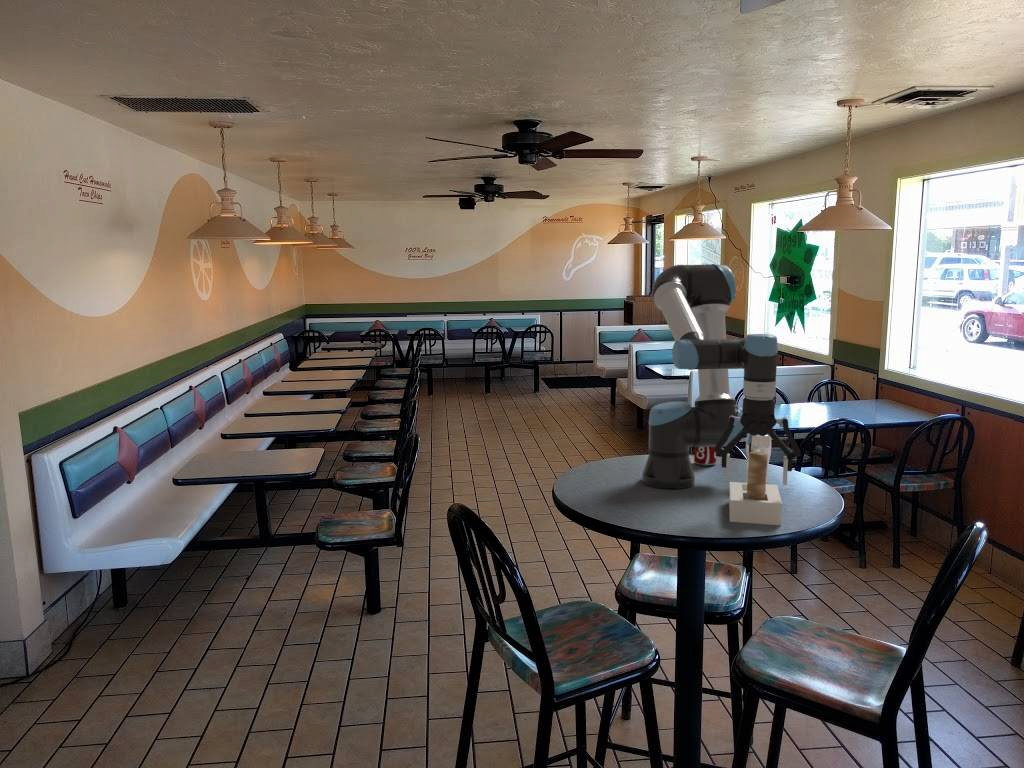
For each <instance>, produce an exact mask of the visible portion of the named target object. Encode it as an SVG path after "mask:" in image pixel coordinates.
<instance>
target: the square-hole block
mask: <svg viewBox="0 0 1024 768" xmlns="http://www.w3.org/2000/svg"><path fill="white" fill-rule="evenodd" d="M746 495H747V483H746V482H738V481H736V482H735V481H729V493H728V496H729V497H728V509H729V511H728V512H729V522H730V523H743V524H757V525H767V526H768V525H771V526H782V515H783V514H782V513H783V502H782V498H781V494H780V490H779V487H778V484H769V483H768V484H766V490H765V501H764V500H748V499H746Z"/></svg>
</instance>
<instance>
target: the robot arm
mask: <svg viewBox="0 0 1024 768" xmlns="http://www.w3.org/2000/svg"><path fill="white" fill-rule="evenodd" d="M736 284H737V283H736V279H735V275H734V273H733V271H732V270H731V269H730V267H729V266H727V265H724V264H715V263H712V264H711V263H710V264H676V265H672V266H670V267H668V268H665V269H664V270H663V271H662V272H660V273H659V274H658V276H656V278H655V280H654V282H653V285H652V288H651V297H652V300H653V303H654V304H655V306H656V308H657V309H658V310H660V311H661V312H662V314H663V317H664V319H665V322H666V323H667V325H668V328H669V330H670V333H671V335H672V337H673V339H674V343H673V346H672V353H671V356H672V361H673V366H674V367H675V368H677V369H678V370H689V371H694V370H697V372H698V373H697V376H698V390H699V391H698V393H699V395H698V397H697V398H696V399H694V406H692V405H691V403H690V402H689V401H668V402H663V403H658V404H656V405H654V406H652V407H651V408H650V410H649V415H648V417H649V418H648V457H647V458H646V459H647V460H646V462H645V465H644V468H643V471H642V472H641V473H642V475H641V476H642V478H641V482H642V481H643V482H644V483H646V484H648V485H647V486H649V485H651V486H650V487H652V486H654V487H653V488H657V487H660V488H659V489H664V488H674V489H673V490H675V489H676V490H677V489H680V488H681V489H687V488H690V487H692V486H694V485H695V484H696V478H695V477H696V476H695V473H694V472H695V471H694V468H693V466H692V462H691V459H690V448H695V447H715V452H716V454H717V453H718V454H720V455H721V464H720V465H721V468H725V482H729V483H730V464H731V462H730V461H731V460H730V459H731V456H730V455H731V454H730V453H729V452H730V451H732V449H733V448H735V446H736V445H738V443H739V442H741V440H742V439H743V438H745V437H747V434H748V433H749V434H750V435H760V436H764V435H767V434H769V436H770V437H771V440H772V441H774V443H775V444H776V445H777V446H778V447H779V448H780V450H781V451H782V452H783V454H784V455H785V456H783V466H782V467H783V468H782V470H783V471H782V485H783V486H788V472H792V471H793V463H794V462H793V460H794V458H797V457H798V458H800V457H801V456H802V454H801V453H802V452H801V450H800V448H799V447H798V444H797V443H796V441H795V438H794V436H793V434H792V432H791V430H790V427H789V420H788V418H787V417H786V416H784V417H782V418H776V417H775V414H776V413H775V412H776V400H775V397H776V387H777V386H776V385H777V365H778V362H777V361H778V352H779V349H778V338H777V336H776V335H774V334H769V333H768V334H767V333H749V334H747V335H746V337H738V338H737V337H736V338H734V339H732V338H731V339H727V331H726V330H727V328H726V313H727V312H728V311H729V310H730V308H731V305H730V304H733V303H734V301H735V299H736V293H737V285H736ZM733 369H734V370H738V369H742V370H743V388H742V390H743V391H742V395H743V396H744V398H743V399H742V407H741V406H739V405H737V404H736V399H735V397H733V396H732V395H731V393H730V380H729V379H730V378H729V370H733ZM776 424H778V425H779V427H780V428H782V429H783V432H784V433H785V436H786V437H787V439H788V442H789V444H790V446H791V449H793V451H791V450H790V449H789V448H788V446H787V445H786V444H785V443H784V441H783V440H782V439H781V438H780V437H779V436H778V434H776V432H775V431H774V429H773V428H775V426H776ZM643 482H642V483H643ZM644 483H643V484H644ZM646 484H645V485H646ZM681 489H680V490H681Z"/></svg>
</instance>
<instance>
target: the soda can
mask: <svg viewBox="0 0 1024 768" xmlns="http://www.w3.org/2000/svg"><path fill="white" fill-rule="evenodd" d="M693 458H694V459H693V460H694V461H693V462H694V463H695V464H697V465H698V466H700V465H701V467H710V466H709V465H712V466H713V465H715V464H717V453H716V452H715V447H694V456H693Z"/></svg>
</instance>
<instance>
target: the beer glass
mask: <svg viewBox="0 0 1024 768" xmlns="http://www.w3.org/2000/svg"><path fill="white" fill-rule="evenodd" d="M753 451H758V452H764V453H767V454H768V461H767V470H768V467H769V464H770V459H771V454H772V438H771V437H770V436H769V434H767V435H764V436H760V435H750V434H749V433H748V434H747V435H746V440H745V457H746V465H747V466H748V464H749V452H753ZM747 480H748V475H746V482H745V483H747ZM766 484H769V481H768V475H767V476H766Z"/></svg>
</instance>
